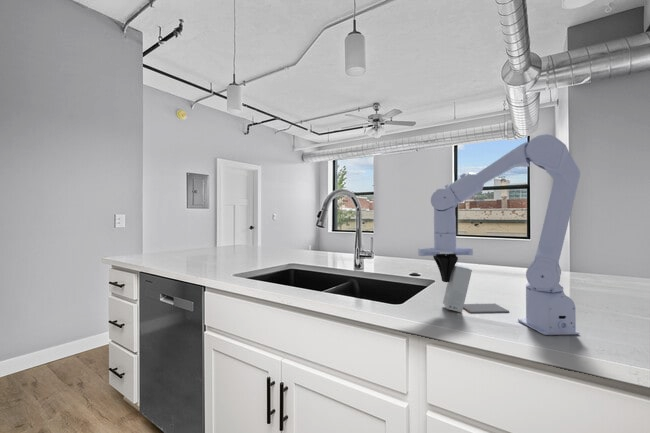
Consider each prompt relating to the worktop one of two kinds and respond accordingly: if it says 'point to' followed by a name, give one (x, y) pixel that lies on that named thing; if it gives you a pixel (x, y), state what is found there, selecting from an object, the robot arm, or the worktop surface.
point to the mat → (484, 308)
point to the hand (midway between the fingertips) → (445, 281)
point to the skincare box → (457, 288)
